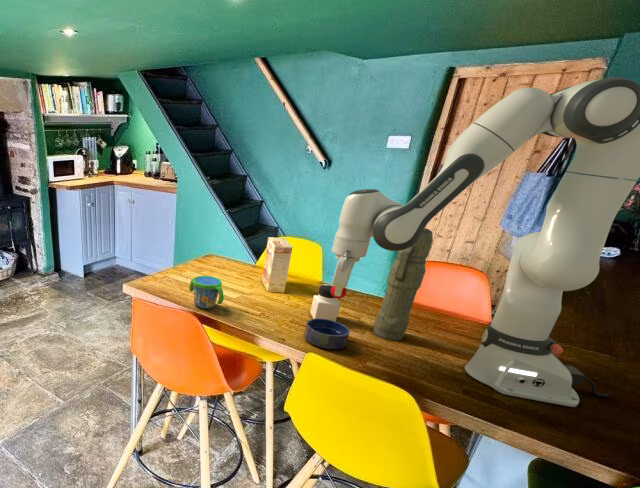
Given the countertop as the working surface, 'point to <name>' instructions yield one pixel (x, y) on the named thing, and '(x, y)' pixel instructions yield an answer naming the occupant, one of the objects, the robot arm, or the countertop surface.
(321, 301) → the medicine bottle
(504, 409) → the countertop surface
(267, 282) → the coffeecake box
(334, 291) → the tomato
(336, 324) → the bowl
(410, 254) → the olive grey tall cylinder
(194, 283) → the snack cup
